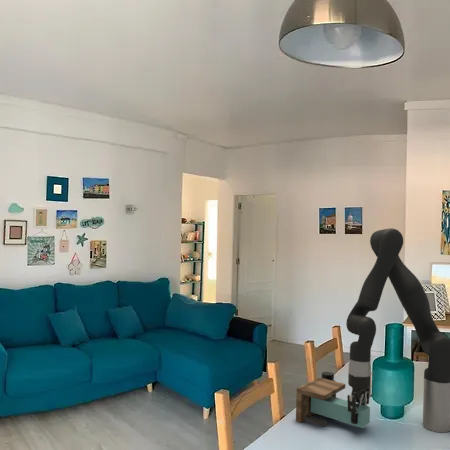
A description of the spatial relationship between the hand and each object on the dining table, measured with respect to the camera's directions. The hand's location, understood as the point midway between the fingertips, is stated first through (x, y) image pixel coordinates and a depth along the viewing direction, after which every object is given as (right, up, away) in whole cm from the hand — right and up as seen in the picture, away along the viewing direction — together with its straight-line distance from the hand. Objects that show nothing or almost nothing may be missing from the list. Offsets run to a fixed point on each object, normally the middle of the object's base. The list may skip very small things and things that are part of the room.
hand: (358, 420), depth 165 cm
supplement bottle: (-5, -4, +25) cm, 26 cm away
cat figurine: (+14, -4, +39) cm, 41 cm away
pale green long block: (-6, -1, +5) cm, 7 cm away
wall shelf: (-11, -3, +9) cm, 15 cm away
